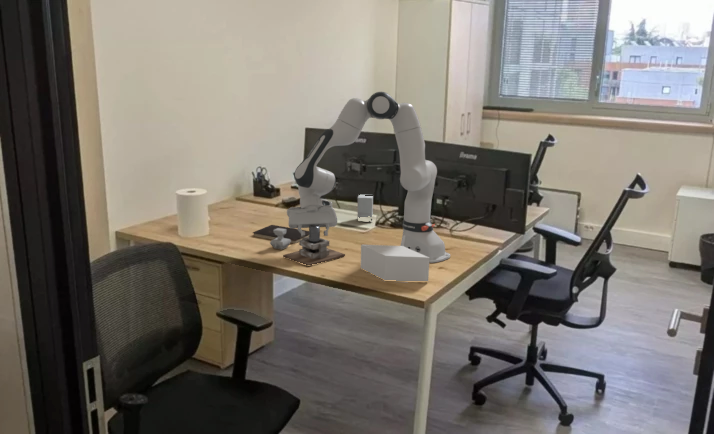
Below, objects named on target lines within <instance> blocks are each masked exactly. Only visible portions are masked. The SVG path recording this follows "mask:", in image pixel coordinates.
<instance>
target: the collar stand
mask: <svg viewBox="0 0 714 434" xmlns="http://www.w3.org/2000/svg"><path fill="white" fill-rule="evenodd" d="M298 244H299V246H301V249H299V250H297V251H292V252H289V253H286V254H282V255H283V256H282V257H283V258H284V257H285V258H284V259H286V258H289V259H291V260H290V261H292V260H294V261H297V262H300V263H303V264H306V265H312V264H317V263H321V262H324V263H326V262H325V261H328V262H330V261H329V260H331V261H333V260H332V259H334V260H337V259H336V258H338V259H341V258H345V257H346V253H343V252H339V251H338V250H337V251H336V250H334V249H331V248H328V247H329V246H330V240H328V239H324V238H321V237H320V242H319V243H316V244H312V243H309V237H305V238H302V240H299V242H298ZM309 249H312V250H315V249H319V252H317V253H311V252H309ZM344 256H345V257H344ZM340 257H341V258H340ZM289 259H288V260H289ZM294 261H293V262H294ZM297 262H296V263H297ZM300 263H299V264H300ZM321 264H322V263H321ZM317 265H318V264H317Z"/></svg>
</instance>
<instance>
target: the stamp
mask: <svg viewBox="0 0 714 434" xmlns="http://www.w3.org/2000/svg"><path fill="white" fill-rule="evenodd" d="M273 231H274V233H275V235H277V236H278V238H275V239H270V242H269V244H270V246H271V247H272V248H273V249H276V250H284V249H286V248H288V247H289V245H290V244H292V243H291V240H290V239H287V238H283V236H284V235H285V234H286V229H281V228H277V229H275V230H273Z"/></svg>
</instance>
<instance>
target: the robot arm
mask: <svg viewBox="0 0 714 434" xmlns="http://www.w3.org/2000/svg"><path fill="white" fill-rule="evenodd" d="M371 118H373V119H376V120H389V121H390V122H391V124H392V127H393V132H394V135H395V139H396V144H397V148H398V152H399V165H400V177H399V181H400V182H399V183H400V185H401V186H402V188H404V190H406V191H407V194H406V197H405V200H404V208H403V209H404V211H403V212H404V213H403V214H404V215H403V219H402V237H401V241H400V245H399V246H404V247H406V248H408V249H411V250H413V251H415V252H418V253H420V254H422V255H425V256H427V257H429V264H430V263H431V264H432V263H439V262H443V261H446V260H449V258H451V254H450V253H449V252H446V245H445V242H444V240H442V238H441V237H440V236H439V234H437V232H435V231H434V227H436V226H435V225H436V223H433V224H432V220H431V213H432V211H431V209H432V199H433V194H434V190H435V189H434V188H435V183H436V178H437V174H438V168H437V165H436V164H435V163H434V162H433V161H432V160H427V159H426V142H425V137H424V133H423V130H422V127H421V123H420V120H419V116H418V114H417V111H416V109H415V107H414V105H413V104H411V103H409V102H401V103H398V102H397V101H396V99H394V98H393V97H392V96H391V94H389V93H388V92H385V91H377V92H374V93H373V94H372V95H371V96H370V97H369V98H368V99H366V100H363V99H361V98H358V97H356V98H354V97H353V98H351V99H349V100H348V101H347V102H346V104H345V105H344V107H343V108H342V109H341V111H340V113H339V114H338V117H337V119H336V120H335V122H334V124H333V125H332V126H331V127H329V128H327V129H325V130H324V131H323V132H322V133H321V134H320V135H319V137H318V138H317V140H316V141H315V142H314V144H313V145H312V147H311V149H310V150H309V152H308V153H307V155H306V156H305V157H304V159H303V160H302V161H301V162H300V164H299V165H298V166H297V167H296V168H295V171H294V174H293V175H294V179H295V182H296V184H297V187H298V189H297V190H298V194H299V195H298V196H299V198H300V199H299V206H295V207H293V206H291V207H289V208H287V210H286V215H287V217H288V228H294V229H298V231H299V232H300V233H301V237H305V231H302V230H303V229H309V226H311V225H318V226H320V228H325V229H324V230H323V236H324V237H326V236H327V237H328V236H329V229H330V228H331V227H332V228H334V227H336V226H337V224H338V215H337V213H336V210H335V208H333V202H332V201H329V200H326V199H321V198H322V196H325V195H328V194H329V193H331V192H332V191H333V190H334V189H335V188H336V185H337V178H336V175H335V173H334V172H332V171H329V170H327V169H325V168H321V167H319V166H317V165H318V163H320V161H321V159H322V158H323V156H324V154H325V153H326V152H327V151H328V150H329V149H330V148H333V147H338V146H339V147H341V146H349V145H352V144H353V143H355V142H356V141H357V140H358V139H359V137H360V135H361V132H362V130H363V129H364V126H365V124H366V123H367V121H369V119H371Z"/></svg>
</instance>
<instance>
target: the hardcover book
mask: <svg viewBox="0 0 714 434" xmlns="http://www.w3.org/2000/svg"><path fill="white" fill-rule="evenodd" d="M277 228H281V229H286V234H285V235H284V236H283V238H287V239H290V240H291V243H290V244H295V243H296V244H299V240H302V238H305V237H309V230H306V229H302V231H305V237H301V233H300V232H299V231H298V228H290V227H289V226H288V227H287V226H283V225H275V224H270V225H268V226H265V227H262V228H260V229H258V230H255V231H253V232H252V234H253V237H256V238H257V237H258V238H263V239H269V240H273V239H275V238H278V236H277V235H275V233H274V231H273V230H275V229H277Z"/></svg>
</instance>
